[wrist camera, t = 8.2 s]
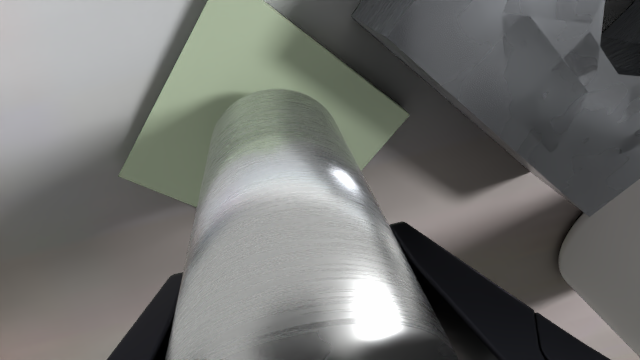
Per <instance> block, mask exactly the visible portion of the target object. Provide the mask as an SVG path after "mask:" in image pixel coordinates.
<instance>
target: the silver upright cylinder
mask: <svg viewBox="0 0 640 360" xmlns="http://www.w3.org/2000/svg"><path fill="white" fill-rule="evenodd" d="M165 360H459V359H458V357H457V355H456V353H455V351H454V349H453V347H452V345H451V344H450V342H449V340H448V338H447V336H446V334H445V332H444V330H443V328H442V326H441V324H440V322H439V320H438V318H437V317H436V315H435V313H434V311H433V309H432V307H431V305H430V303H429V301H428V299H427V297H426V295H425V293H424V292H423V290H422V288H421V286H420V284H419V282H418V280H417V278H416V276H415V274H414V272H413V270H412V268H411V266H410V265H409V263H408V261H407V259H406V257H405V255H404V253H403V251H402V249H401V247H400V245H399V243H398V241H397V240H396V238H395V236H394V234H393V232H392V230H391V228H390V226H389V224H388V222H387V220H386V218H385V216H384V214H383V213H382V211H381V209H380V207H379V205H378V203H377V201H376V199H375V197H374V195H373V193H372V191H371V189H370V188H369V186H368V184H367V182H366V180H365V178H364V176H363V174H362V172H361V170H360V168H359V166H358V164H357V162H356V161H355V159H354V157H353V155H352V153H351V151H350V149H349V147H348V145H347V143H346V141H345V139H344V137H343V136H342V134H341V132H340V130H339V128H338V126H337V124H336V122H335V120H334V118H333V117H332V115H331V114H330V113H329V111H328V110H327V109H326V108H325V107H324V106H323V105H322V104H320V103H319V102H318V101H317V100H315V99H313V98H312V97H310V96H308V95H305V94H303V93H301V92H297V91H293V90H288V89H267V90H261V91H257V92H253V93H251V94H249V95H246V96H244V97H242V98H241V99H239V100H237V101H236V102H234V103H233V104H232V105H231V106H229V107H228V108H227V109H226V110H225V112H224V113H223V114H222V115H221V117H220V118H219V119H218V121H217V123H216V125H215V127H214V130H213V133H212V137H211V142H210V146H209V151H208V156H207V161H206V166H205V170H204V175H203V180H202V185H201V190H200V194H199V199H198V204H197V209H196V214H195V218H194V223H193V228H192V233H191V238H190V243H189V247H188V252H187V257H186V262H185V267H184V271H183V276H182V281H181V286H180V291H179V295H178V300H177V305H176V310H175V315H174V319H173V324H172V329H171V334H170V339H169V343H168V348H167V353H166V358H165Z"/></svg>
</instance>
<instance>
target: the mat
mask: <svg viewBox="0 0 640 360" xmlns="http://www.w3.org/2000/svg"><path fill="white" fill-rule="evenodd" d="M267 89H288V90H293V91H297V92H301V93H303V94H305V95H308V96H310V97H312V98H313V99H315V100H317V101H318V102H319V103H320V104H322V105H323V106H324V107H325V108H326V109H327V110H328V111H329V113H330V114H331V115H332V117H333V118H334V120H335V122H336V124H337V126H338V128H339V130H340V132H341V134H342V136H343V137H344V139H345V141H346V143H347V145H348V147H349V149H350V151H351V153H352V155H353V157H354V159H355V161H356V162H357V164H358V166H359V168H360V170H362V169H363V168H364V167H365V166H366V165H367V164H368V162H369V161H370V160H371V159H372V158H373V157H374V156H375V154H376V153H377V152H378V151H379V150H380V149H381V148H382V146H383V145H384V144H385V143H386V142H387V141H388V140H389V138H390V137H391V136H392V135H393V134H394V133H395V132H396V130H397V129H398V128H399V127H400V126H401V125H402V124H403V122H404V121H405V120H406V119H407V118H408V117H409V116H410V114H408V113H407V112H406V111H405V110H404V109H403V108H402V107H401V106H400V105H398V104H397V103H396V102H394V101H393V100H392V99H391V98H389V97H388V96H387V95H385V94H384V93H383V92H381V91H380V90H379V89H378V88H376V87H375V86H374V85H372V84H371V83H370V82H368V81H367V80H366V79H365V78H363V77H362V76H361V75H359V74H358V73H357V72H355V71H354V70H353V69H352V68H350V67H349V66H348V65H346V64H345V63H344V62H343V61H341V60H340V59H339V58H337V57H336V56H335V55H333V54H332V53H331V52H330V51H328V50H327V49H326V48H324V47H323V46H322V45H320V44H319V43H318V42H317V41H315V40H314V39H313V38H311V37H310V36H309V35H307V34H306V33H305V32H304V31H302V30H301V29H300V28H298V27H297V26H296V25H294V24H293V23H292V22H291V21H289V20H288V19H287V18H285V17H284V16H283V15H281V14H280V13H279V12H278V11H276V10H275V9H274V8H272V7H271V6H270V5H269V4H267V3H266V2H265V1H263V0H208V1H207V3H206V5H205V7H204V9H203V11H202V13H201V15H200V17H199V19H198V21H197V23H196V25H195V27H194V29H193V31H192V32H191V34H190V36H189V38H188V40H187V42H186V44H185V46H184V48H183V50H182V52H181V54H180V56H179V58H178V60H177V62H176V64H175V66H174V68H173V70H172V72H171V74H170V76H169V78H168V79H167V81H166V83H165V85H164V87H163V89H162V91H161V93H160V95H159V97H158V99H157V101H156V103H155V105H154V107H153V109H152V111H151V113H150V115H149V117H148V119H147V121H146V123H145V125H144V126H143V128H142V130H141V132H140V134H139V136H138V138H137V140H136V142H135V144H134V146H133V148H132V150H131V152H130V154H129V156H128V158H127V160H126V162H125V164H124V166H123V168H122V170H121V172H120V173H119V175H118V177H121V178H123V179H126V180H129V181H131V182H134V183H136V184H139V185H141V186H144V187H146V188H149V189H151V190H154V191H156V192H159V193H161V194H164V195H166V196H169V197H171V198H174V199H177V200H179V201H182V202H184V203H187V204H189V205H192V206H194V207H197V204H198V199H199V194H200V190H201V185H202V180H203V175H204V170H205V166H206V161H207V156H208V151H209V146H210V142H211V137H212V133H213V130H214V127H215V125H216V123H217V121H218V119H219V118H220V117H221V115H222V114H223V113H224V112H225V110H226V109H227V108H228V107H229V106H231V105H232V104H233V103H234V102H236V101H237V100H239V99H241V98H242V97H244V96H246V95H249V94H251V93H253V92H257V91H261V90H267Z"/></svg>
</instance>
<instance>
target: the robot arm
mask: <svg viewBox="0 0 640 360" xmlns="http://www.w3.org/2000/svg"><path fill="white" fill-rule="evenodd" d="M389 226H390V228H391V230H392V232H393V234H394V236H395V238H396V240H397V241H398V243H399V245H400V247H401V249H402V251H403V253H404V255H405V257H406V259H407V261H408V263H409V265H410V266H411V268H412V270H413V272H414V274H415V276H416V278H417V280H418V282H419V284H420V286H421V288H422V290H423V292H424V293H425V295H426V297H427V299H428V301H429V303H430V305H431V307H432V309H433V311H434V313H435V315H436V317H437V318H438V320H439V322H440V324H441V326H442V328H443V330H444V332H445V334H446V336H447V338H448V340H449V342H450V344H451V345H452V347H453V349H454V351H455V353H456V355H457V357H458V359H459V360H610V359H609V358H607V357H605V356H604V355H602V354H601V353H599V352H597V351H596V350H594V349H592V348H591V347H589V346H587V345H586V344H584V343H583V342H581V341H580V340H578V339H576V338H575V337H573V336H572V335H570V334H569V333H567V332H566V331H564V330H563V329H561V328H560V327H558V326H557V325H555V324H554V323H552V322H551V321H549V320H548V319H546V318H545V317H543V316H542V315H540V314H539V313H534V310H533V309H531V308H530V307H529V306H527V305H526V304H524V303H523V302H521V301H520V300H518V299H517V298H515V297H514V296H512V295H511V294H509V293H508V292H507V291H505V290H504V289H502V288H501V287H499V286H498V285H496V284H495V283H493V282H492V281H490V280H489V279H488V278H486V277H485V276H483V275H482V274H480V273H479V272H477V271H476V270H474V269H473V268H471V267H470V266H469V265H467V264H466V263H464V262H463V261H461V260H460V259H458V258H457V257H455V256H454V255H452V254H451V253H449V252H448V251H447V250H445V249H444V248H442V247H441V246H439V245H438V244H436V243H435V242H433V241H432V240H430V239H429V238H428V237H426V236H425V235H423V234H422V233H420V232H419V231H417V230H416V229H414V228H413V227H411V226H410V225H408V224H407V223H405V222H398V223H394V224H390V225H389ZM182 276H183V272H182V273H178V274H174V275H172V276H171V277H169V279H168V280H167V281H166V283H165V284H164V285H163V287H162V288H161V289H160V291H159V292H158V293H157V294H156V296H155V297H154V298H153V300H152V301H151V302H150V304H149V305H148V306H147V308H146V309H145V310H144V312H143V313H142V314H141V315H140V317H139V318H138V319H137V321H136V322H135V323H134V325H133V326H132V327H131V329H130V330H129V331H128V333H127V334H126V335H125V337H124V338H123V339H122V340H121V342H120V343H119V344H118V346H117V347H116V348H115V350H114V351H113V352H112V354H111V355H110V356H109V358H108V359H107V360H165V358H166V353H167V348H168V343H169V339H170V334H171V329H172V324H173V319H174V315H175V310H176V305H177V300H178V295H179V291H180V286H181V281H182Z"/></svg>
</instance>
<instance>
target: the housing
mask: <svg viewBox="0 0 640 360" xmlns="http://www.w3.org/2000/svg"><path fill="white" fill-rule="evenodd" d="M604 6H605V0H362V1H361V3H360V4H359V6H358V7H357V9H356V10H355V11H354V13H353V14H352V16H351V17H353V18H354V19H355V20H356V21H357V22H358V23H359V24H361V25H362V26H363V27H364V28H365V29H366V30H368V31H369V32H370V33H371V34H372V35H373V36H374V37H376V38H377V39H378V40H379V41H380V42H381V43H383V44H384V45H385V46H386V47H387V48H388V49H389V50H391V51H392V52H393V53H394V54H395V55H396V56H397V57H399V58H400V59H401V60H402V61H403V62H404V63H406V64H407V65H408V66H409V67H410V68H411V69H412V70H414V71H415V72H416V73H417V74H418V75H419V76H421V77H422V78H423V79H424V80H425V81H426V82H427V83H429V84H430V85H431V86H432V87H433V88H434V89H436V90H437V91H438V92H439V93H440V94H441V95H442V96H444V97H445V98H446V99H447V100H448V101H449V102H451V103H452V104H453V105H454V106H455V107H456V108H457V109H459V110H460V111H461V112H462V113H463V114H464V115H466V116H467V117H468V118H469V119H470V120H471V121H472V122H474V123H475V124H476V125H477V126H478V127H479V128H481V129H482V130H483V131H484V132H485V133H486V134H487V135H489V136H490V137H491V138H492V139H493V140H494V141H496V142H497V143H498V144H499V145H500V146H501V147H502V148H504V149H505V150H506V151H507V152H508V153H509V154H510V155H512V156H513V157H514V158H515V159H516V160H517V161H519V162H520V163H521V164H522V165H523V166H524V167H525V168H527V169H528V170H529V171H530V172H531V173H533V174H534V175H535V176H536V177H538V178H539V179H540V180H542V181H543V182H544V183H546V184H547V185H548V186H550V187H551V188H552V189H553V190H555V191H556V192H557V193H559V194H560V195H561V196H563V197H564V198H565V199H567V200H568V201H569V202H570V203H572V204H573V205H574V206H576V207H577V208H578V209H580V210H581V211H582V212H583V213H585V214H586V215H587V216H589V217H590V216H592V215H593V214H594V213H596V212H597V211H598V210H599V209H601V208H602V207H603V206H605V205H606V204H607V203H609V202H610V201H611V200H613V199H614V198H615V197H617V196H618V195H619V194H620V193H622V192H623V191H624V190H626V189H627V188H628V187H630V186H631V185H632V184H634V183H635V182H636V181H637V180H639V179H640V0H635V1H634V3H633V4H632V5H631V6H630V7H629V8H628V9H627V10H626V11H625V12H624V13H623V14H621V15H620V16H619V17H618V18H617V19H616V20H615V21H614V22H613V23H612V24H611V25H610V26H609V27H608V28H607V29H606V30H605V31H604V32H603V33H602V24H603V15H604ZM601 33H602V34H601Z"/></svg>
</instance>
